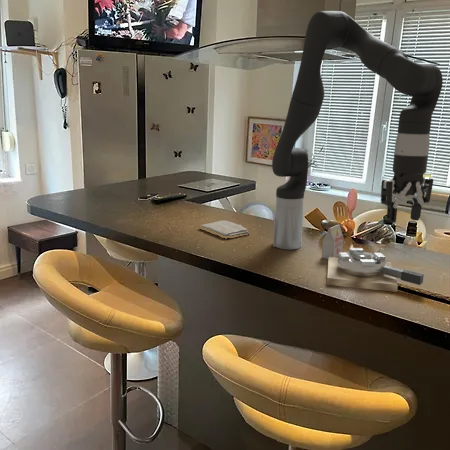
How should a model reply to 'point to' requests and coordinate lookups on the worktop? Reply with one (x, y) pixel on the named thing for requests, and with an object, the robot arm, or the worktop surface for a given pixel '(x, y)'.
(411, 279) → the grey frying pan
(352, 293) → the worktop surface
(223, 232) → the washcloth
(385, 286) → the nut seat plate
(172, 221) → the worktop surface
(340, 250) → the white carton
